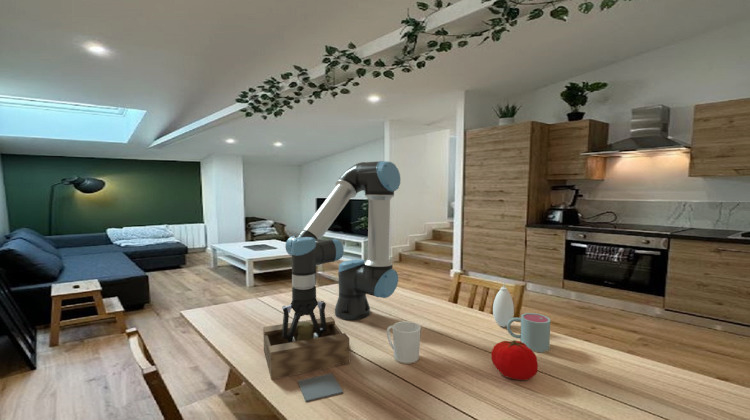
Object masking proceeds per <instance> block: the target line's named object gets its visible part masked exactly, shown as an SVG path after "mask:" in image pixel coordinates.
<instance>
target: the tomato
mask: <svg viewBox="0 0 750 420" xmlns="http://www.w3.org/2000/svg"><path fill="white" fill-rule="evenodd" d="M526 345H527V344H524V343H522V342H521V341H520V340H516V339H513V340H511V341H508V340H501V341H500V342H497V343H496V344H494V346H493V348H492V349H491V353H490V354H491V357H490V358H491V361H492V364H493V365H494V367H495V368H496V369H497V371H499V372H500V373H501V374H502V376H503V377H505V378H509V379H513V380H520V381H521V380H522V381H527V380H530V379H532V378H533V377H535V376H536V375H537V373H538V367H539V364H538V358H537V355H536V354H535V352H533V351H532V350H531V349H530V348H528V347H527V346H526Z"/></svg>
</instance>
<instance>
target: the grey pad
mask: <svg viewBox="0 0 750 420" xmlns="http://www.w3.org/2000/svg"><path fill="white" fill-rule="evenodd" d="M297 384H298V386H299V388H300V392H301V394H302V396H303V399H304V402H305V403H307V402H312V401H317V400H318V399H319V400H320V399H323V398H329V397H332V396H336V395H341V394H344V391H343V390H342V388H341V386H340V384H339V382H338V380H337V379H336V377H335V376H334V374H333V373H327V374H326V373H325V374H323V375H322V374H321V375H318V376H314V377H309V378H305V379H299V380H297Z"/></svg>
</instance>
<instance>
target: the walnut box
mask: <svg viewBox="0 0 750 420" xmlns="http://www.w3.org/2000/svg"><path fill="white" fill-rule="evenodd" d="M325 319H326V329H327V331H326V332H325V333H322V335H321V337H319V338H314V333H316V330H315V328H314V325H313V323H312V320H311V319H307V320H299V321H298V324H300V323H302V322H309V323H311V324H312V326H313V331H312V333H311V336H312V339H308V340H302V341H298V333H297V330H295V333H294V336H293V337H294V339H295V342H290V343H288V339H283V337H282V328H283V323H281V324H274V325H268V326H263V327H262V329H263V330H262V331H263V333H262V334H263V351H264V357H265V360H266V365H267V368H268V373H269V376H270V380H272V381H273V380H276V379H282V378H286V377H291V376H295V375H300V374H305V373H310V372H314V371H320V370H325V369H328V368H329V369H330V368H334V367H339V366H343V365H347V364H348V365H349V364H350V337H349V336H348V335H347V333H346V332H343V331H341V329H340V328H339V326H338V325H336V320H335V319H334V318H333V316H328V317H326V316H325ZM316 320H317V323H318V326H319V328H321V322H320V318H316ZM291 324H292V322H288V331H287V334H288V333H289V330H290V327H291ZM298 324H297V326H298ZM296 328H297V327H296Z"/></svg>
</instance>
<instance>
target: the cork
mask: <svg viewBox="0 0 750 420" xmlns="http://www.w3.org/2000/svg"><path fill="white" fill-rule="evenodd" d="M296 330H297V333H298V341H302V340H308V339H312V336H311V333H312V331H313V326H312V324H311V323H309V322H302V323H300V324H298V326H297V328H296Z"/></svg>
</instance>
